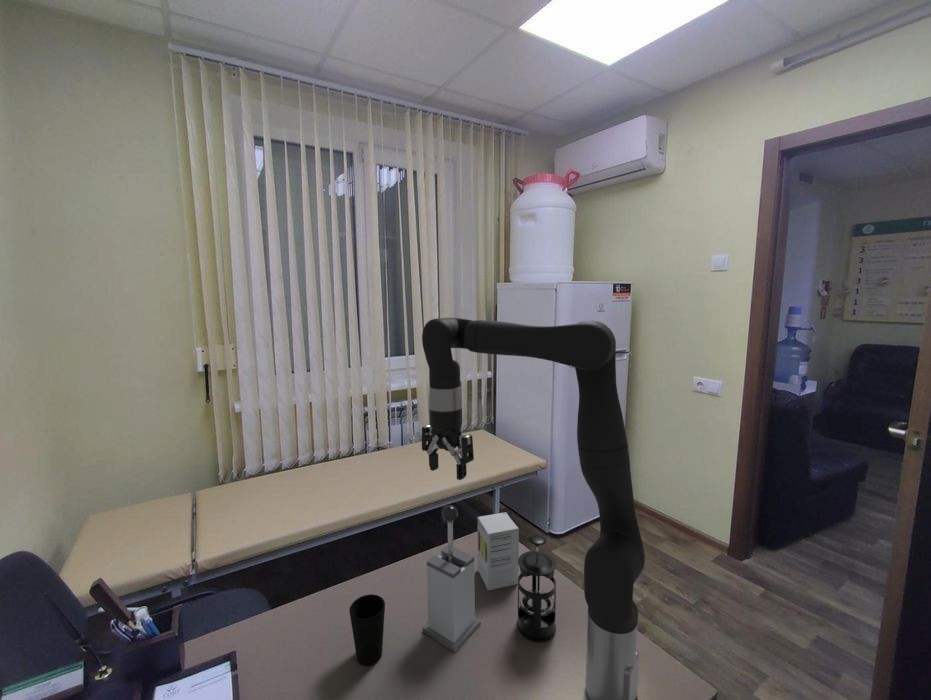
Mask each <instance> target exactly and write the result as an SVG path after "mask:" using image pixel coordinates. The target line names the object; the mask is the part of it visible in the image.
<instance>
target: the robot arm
mask: <svg viewBox="0 0 931 700" xmlns="http://www.w3.org/2000/svg"><path fill="white" fill-rule="evenodd" d="M421 336H422V337H421V341H422V342H421V343H422V344H421V345H422V349H423V353H424V355H425V359H426V363H427V365H428V366H427V367H428V371H429V372H428V375H429V376H428V377H429V379H428V380H429V387H428V388H429V389H428V390H429V392H428V415H429V418H428V420H429V424H428V425H425V426H424V425H423V426H422V427H421V450H422V451H423V452H426V454H427V455H428V466H429V469H430V470H431V472H433V471H436V470H438V469H439V453H437V452H438V451H439V450H444V451H446V452H449V453H450V456H451V457H453V458H454V461H456V466H455V467H456V480H459V481H462V480H464V479H465V478H466V477H467V464H468V463H471V462H473V461H474V460H475V458H474V442H473V441H474V440H473V435H472V434H467V435H464V434H462V431H461V427H462V426H463V399H462V398H463V396H462V389H461V388H462V387H461V367H460V364H459V362H458V361H457V360H454V359H453V353H452V349H464V350H468V351H469V352H472V353H478V354H485V355H486V354H487V355H497V356H498V355H499V356H514V357H526V358H533V359H539V360H544V361H545V360H546V361H550V362H553V363H558V364H561V365H566V366H569V367H572V368H574V369H575V374H576V381H577V384H578V385H577V386H578V395H579V396H578V410H577V422H576V423H577V424H576V425H577V426H576V442H577V449H578V450H577V451H578V457H579V458H578V459H579V464H580V469H581V473H582V476H583V478H584V480H585V482H586V484H587V486H588V487H589V489H590V491H591V492H592V495H593V497H594V498H595V500H596V503H597V507H598V514H599V526H600V527H599V529H600V530H599V531H600V532H599V533H600V534H599V537H598V538H597V539H596V541H595V542H594V543H593V544H591V546H590V547H589V549H587V551H586V554H585V557H584V564H583V569H584V570H583V579H584V580H583V581H584V582H583V583H584V584H583V585H584V587H583V588H584V589H583V590H584V591H583V592H584V600H585V602H586V605H587V625H586V626H587V627H586V657H585V658H586V662H585V663H586V664H585V692H586V694H587V698H588V699H589V700H636V699H637V697H636V696H638V686H639V685H638V683H639V680H638V679H639V665H640V664H639V663H640V660H639V659H640V653H639V651H637V641H638V640H637V637H638V623H639V622H638V621H639V609H638V606H637V604H636V602H635V600H634V596H633V595H634V585H635V583H636V581H637V580H638V579H639V577H640V575H641V574H642V573H643V570H644V567H645V562H646V555H645V548H644V544H643V541H642V535H641V531H640V527H639V522H638V518H637V514H636V509H635V502H634V500H635V499H634V490H633V489H634V488H633V482H632V471H631V463H630V462H631V461H630V454H629V453H630V452H629V451H630V450H629V445H628V439H627V433H626V425H625V422H624V417H623V416H624V415H623V412H622V408H621V407H622V406H621V403H620V399H619V394H618V387H617V367H616V366H617V365H616V364H617V362H616V361H617V360H616V359H617V357H616V356H617V355H616V354H617V353H616V350H617V345H616V344H617V340H616V337H615V335H614V332H613V331H612V330H611V328H609V327H608V326H607V324H605V323H603V322H600V321H597V320H583V321H579V322H577V323H572V324H563V325H553V326H551V325H550V326H549V325H547V326H545V325H544V326H541V325H540V326H539V325H528V324H520V323H515V322H509V321H508V322H507V321H501V320H500V321H498V320H485V319H484V320H479V319H477V320H475V319H474V320H472V319H466V318H460V317H441V318H440V317H439V318H438V317H437V318H433V319H430V320H428V322H426V324H425V325H424V327H423V329H422V334H421ZM635 698H636V699H635Z"/></svg>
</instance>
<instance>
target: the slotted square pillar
mask: <svg viewBox="0 0 931 700" xmlns="http://www.w3.org/2000/svg"><path fill="white" fill-rule="evenodd" d="M447 560H448V545H446V546H445V547H443V549H441V550H440V555H438V556H437V555H433V556H432V557H431V558H429V559H427V560H426V580H427V582H426V584H427V623H426V624H425V625H423V626H422V632H423V633H425V634H427V636H430V638H432V639H433V640H435V641H437V642H438V643H440V644H441V645H442V646H444V647H446V648H447V649H450V651H453V652H454V653H457V651H458V650H459V649H460V648H461V647H462V645H464V643H466V641H467V640H468V639H469V638H470V637H471V636H472V634H473V633H474V632H475V631H476V630H477V629H478V628H480V627H479V626H481V623H482V622H481V619H478V618H476V612H475V611H476V609H475V608H476V607H475V606H476V605H475V604H476V602H475V601H476V600H475V599H476V597H475V594H476V593H475V592H476V591H475V585H476V584H475V556H474V555H471V554H469V553H467V552H465V551H462V550H460V549H458V548H457V547H454V546H453V560H454V561H456V562H458V563H460V564H462V565H464V566H463V567H462V568H460V567H458V566H456V565H453V564H451V563H449V562H447Z"/></svg>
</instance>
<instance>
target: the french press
mask: <svg viewBox="0 0 931 700" xmlns="http://www.w3.org/2000/svg"><path fill="white" fill-rule="evenodd" d="M528 541H529V543H530V544H532V545H534V546H535V547H536V550H529V551H526V552H523V553H522V554H520V555H519V556H518V568H519V570H520V574H518V584H517V619H516V628H517V630H518V632H519V634H520V636H522V637H524V638H525V639H526V640H528V641H530V642H535V643H545V642H547V641H548V642H549V641H550V640H551V639H553V638H554V636H555V635H556V632H557V625H556V599H557V595H556V593H557V588H556V587H557V581H556V579H555V577H554V576H555V570H556V569H557V561H556V559H555V558H554V557H553V556H552V555H550V554H549V553H546V552H544V551H540V550H539V547H540V546H542V545H545V544H546V543H547V538H546V537H545V536H544V535H542V534H530V535H529V537H528ZM531 576H532V577H531ZM524 577H525V578H526V577H531V585H532V586H531V590H526V589H525V588H524V587H523V586H522V585H521V583H520V581H521V580H522V579H523V578H524ZM541 577H545V578H547V579H549V580H550V581H551V582H552V584H553V585H554V586H553V588H552V589H551V590H550V591H548V592H544V591H542V590H540V587H541V586H540V585H541V583H540V581H541ZM520 592H521V593H522V594H521V595H520ZM552 597H553V598H552ZM528 616H530V617H533V618H532V619H533V621H532V623H533V625H532V626H530V625H528V624H527V623H525V622H524V620H525V619H526V617H528ZM542 618H544V619H546V621H548V622H549V625H548V626H544V627H542Z"/></svg>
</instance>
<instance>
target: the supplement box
mask: <svg viewBox="0 0 931 700" xmlns="http://www.w3.org/2000/svg"><path fill="white" fill-rule="evenodd" d="M519 529H520V528H519V527H518V526H517V525H516V523H515V522H514V521H513V520H512V518H511V517H510V516H509V514H508V512H506V511H505V512H500V513H494V514H493V513H492V514H488V515H481V516H477V571H478V573H479V575H480V577H481V579H482V581H483V584H484V586H485V587H486V590H487V591H493V590H498V589H502V588H506V587H511V586H515V585H518V577H519V564H518V559H519V549H520V547H519V543H520V537H519V536H520V530H519Z"/></svg>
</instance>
